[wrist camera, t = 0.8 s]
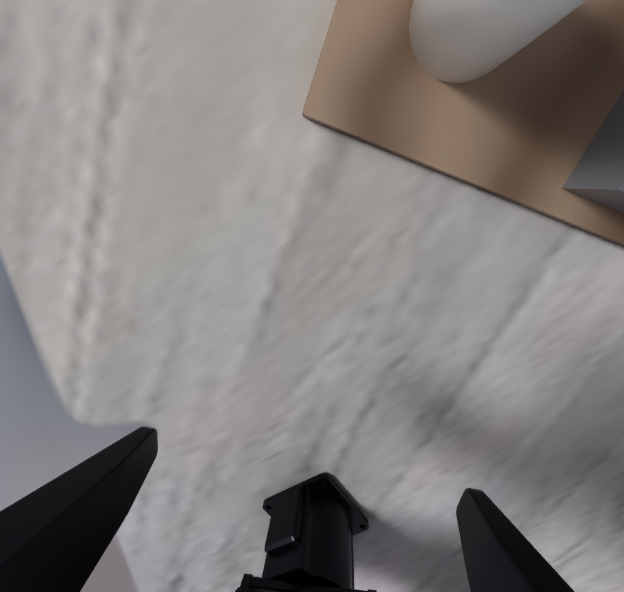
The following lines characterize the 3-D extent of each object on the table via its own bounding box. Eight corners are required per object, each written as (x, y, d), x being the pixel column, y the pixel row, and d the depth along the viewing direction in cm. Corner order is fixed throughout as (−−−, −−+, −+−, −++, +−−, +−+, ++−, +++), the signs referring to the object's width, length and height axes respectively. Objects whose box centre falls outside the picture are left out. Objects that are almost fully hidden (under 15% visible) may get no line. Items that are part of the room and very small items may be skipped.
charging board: (925, 29, 14) (960, 20, 13) (706, 280, 18) (722, 284, 17) (405, -207, 13) (410, -232, 12) (303, 116, 17) (301, 113, 16)
